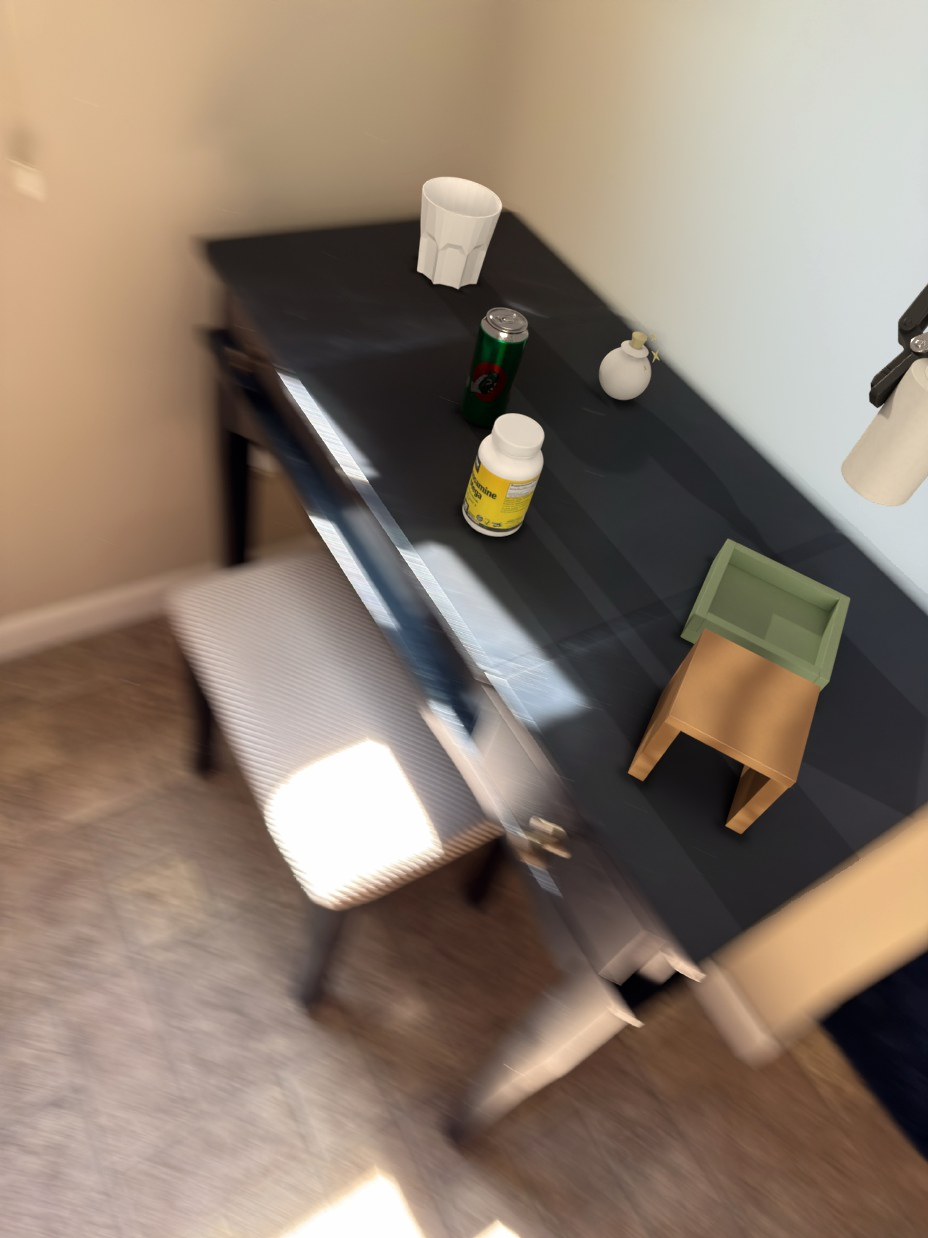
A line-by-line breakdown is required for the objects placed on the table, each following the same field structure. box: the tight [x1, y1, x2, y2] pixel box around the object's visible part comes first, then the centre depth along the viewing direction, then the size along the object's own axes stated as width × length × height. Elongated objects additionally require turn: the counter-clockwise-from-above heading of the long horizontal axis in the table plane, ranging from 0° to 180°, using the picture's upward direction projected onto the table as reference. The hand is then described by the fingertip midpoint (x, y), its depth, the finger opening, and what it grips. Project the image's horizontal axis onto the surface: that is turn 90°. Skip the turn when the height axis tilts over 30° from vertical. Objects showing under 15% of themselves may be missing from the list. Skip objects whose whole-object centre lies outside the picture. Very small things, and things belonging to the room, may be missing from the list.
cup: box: [416, 176, 503, 290], centre depth 111 cm, size 10×10×10 cm
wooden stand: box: [627, 628, 821, 835], centre depth 69 cm, size 10×10×9 cm
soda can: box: [459, 307, 530, 428], centre depth 92 cm, size 5×5×12 cm
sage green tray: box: [680, 538, 851, 692], centre depth 83 cm, size 13×12×4 cm
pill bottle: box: [462, 412, 545, 537], centre depth 82 cm, size 6×6×11 cm
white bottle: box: [840, 358, 928, 507], centre depth 60 cm, size 5×5×12 cm
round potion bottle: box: [598, 331, 661, 401], centre depth 100 cm, size 6×7×10 cm
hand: (906, 426), depth 60 cm, fingers closed on white bottle, 5 cm apart
